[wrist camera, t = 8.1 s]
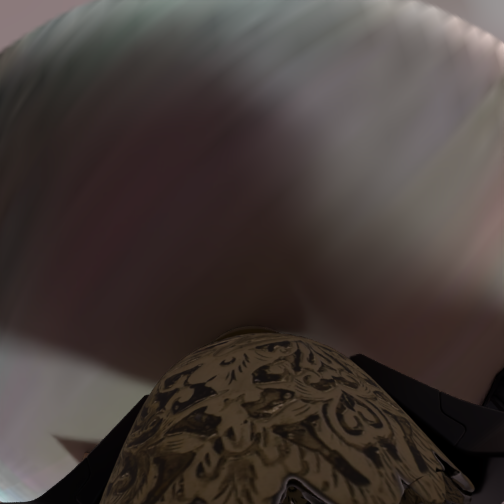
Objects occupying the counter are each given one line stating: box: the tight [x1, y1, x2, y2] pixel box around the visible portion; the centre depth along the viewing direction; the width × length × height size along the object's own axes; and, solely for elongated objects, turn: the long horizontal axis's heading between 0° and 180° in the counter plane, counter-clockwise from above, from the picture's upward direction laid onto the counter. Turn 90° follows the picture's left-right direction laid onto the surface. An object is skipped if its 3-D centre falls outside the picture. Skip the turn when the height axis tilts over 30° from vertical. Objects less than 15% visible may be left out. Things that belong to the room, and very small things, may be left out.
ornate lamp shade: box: [100, 326, 475, 504], centre depth 6 cm, size 8×7×8 cm
